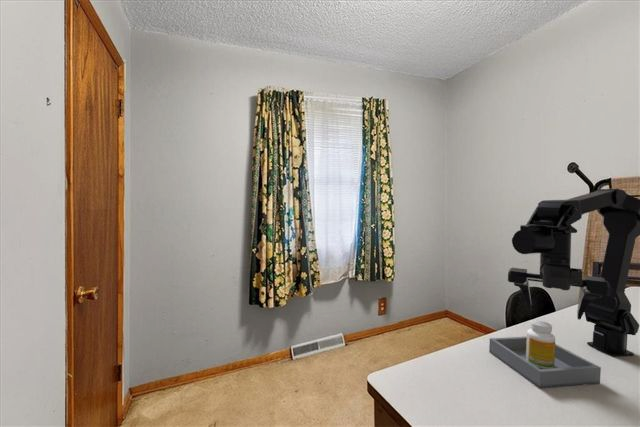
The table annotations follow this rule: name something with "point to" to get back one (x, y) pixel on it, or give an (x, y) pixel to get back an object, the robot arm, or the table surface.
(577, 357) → the tray
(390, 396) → the table surface
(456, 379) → the table surface
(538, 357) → the supplement bottle
